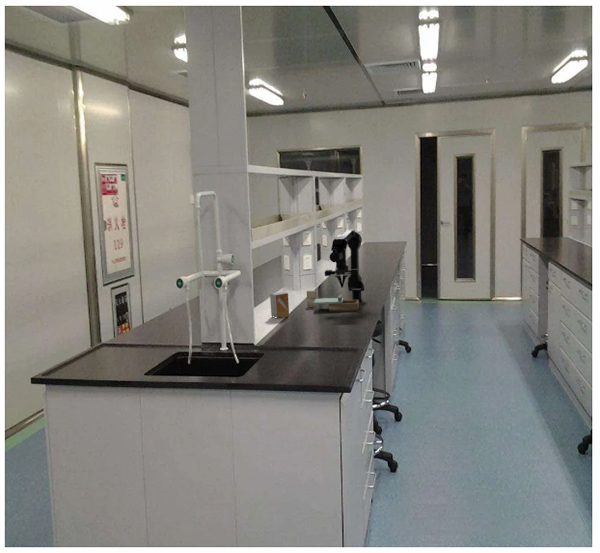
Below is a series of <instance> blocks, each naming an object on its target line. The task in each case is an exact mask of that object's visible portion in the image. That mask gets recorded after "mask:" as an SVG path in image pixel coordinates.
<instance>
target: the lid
mask: <svg viewBox="0 0 600 553" xmlns="http://www.w3.org/2000/svg"><path fill="white" fill-rule="evenodd" d="M343 300H345V299H344V297H343V294H338V297H330V298H325V297H324V298H316V300H315V301H314V304H317V305H329V304H340V303H342V302H343Z"/></svg>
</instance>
